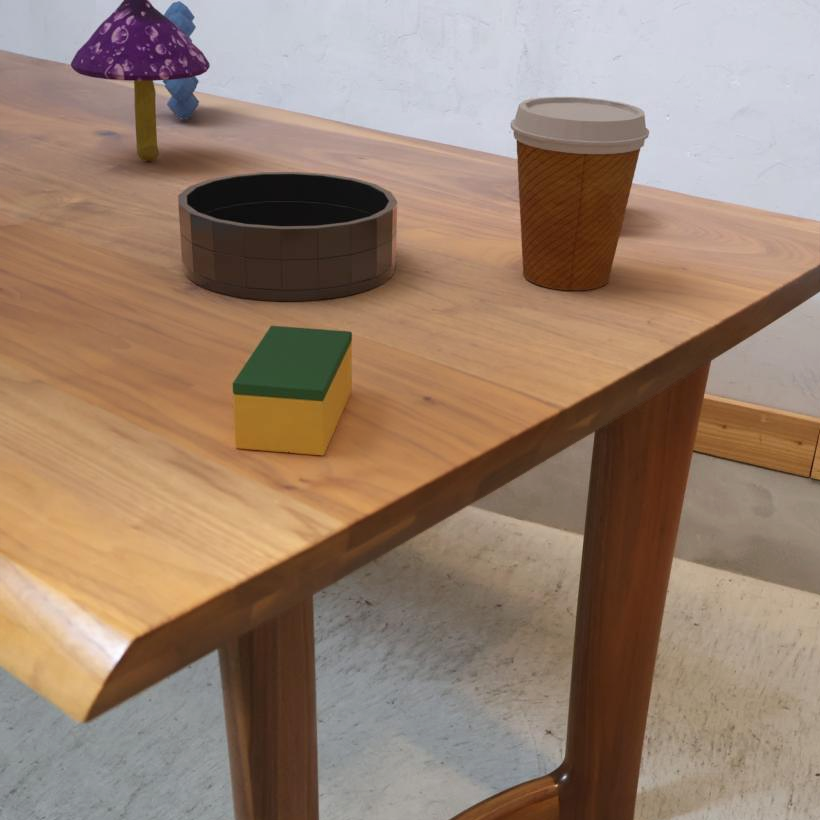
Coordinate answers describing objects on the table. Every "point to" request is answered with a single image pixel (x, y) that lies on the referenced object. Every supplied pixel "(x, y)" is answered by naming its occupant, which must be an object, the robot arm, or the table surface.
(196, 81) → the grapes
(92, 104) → the table surface
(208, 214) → the bowl
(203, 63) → the decorative mushroom
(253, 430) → the sponge
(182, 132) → the table surface
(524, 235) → the disposable coffee cup
